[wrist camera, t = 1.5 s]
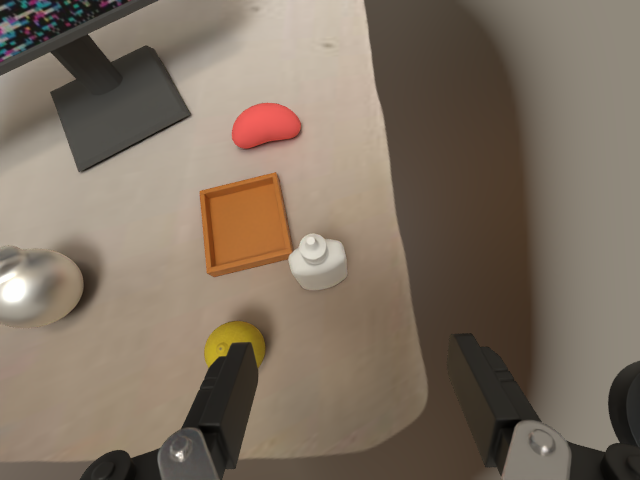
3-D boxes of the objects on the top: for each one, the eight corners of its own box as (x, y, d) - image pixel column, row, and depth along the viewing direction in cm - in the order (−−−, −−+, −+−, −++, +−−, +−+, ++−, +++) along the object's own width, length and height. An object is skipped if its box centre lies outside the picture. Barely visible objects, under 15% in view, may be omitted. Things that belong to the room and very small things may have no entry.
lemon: (279, 332, 35) (260, 327, 28) (262, 384, 34) (237, 393, 26) (235, 318, 36) (205, 309, 29) (216, 367, 35) (179, 371, 27)
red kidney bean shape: (249, 123, 48) (220, 110, 42) (301, 102, 44) (276, 85, 38) (255, 157, 47) (226, 148, 42) (307, 139, 44) (283, 127, 38)
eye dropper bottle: (305, 253, 38) (285, 210, 27) (350, 262, 37) (349, 223, 26) (295, 287, 37) (271, 258, 26) (342, 298, 36) (337, 273, 25)
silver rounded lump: (98, 247, 41) (24, 216, 32) (104, 316, 38) (22, 304, 28) (33, 270, 41) (-62, 245, 32) (32, 341, 38) (-74, 338, 28)
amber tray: (294, 257, 38) (291, 252, 36) (213, 277, 38) (206, 273, 36) (279, 180, 42) (275, 172, 40) (206, 198, 42) (199, 191, 40)
